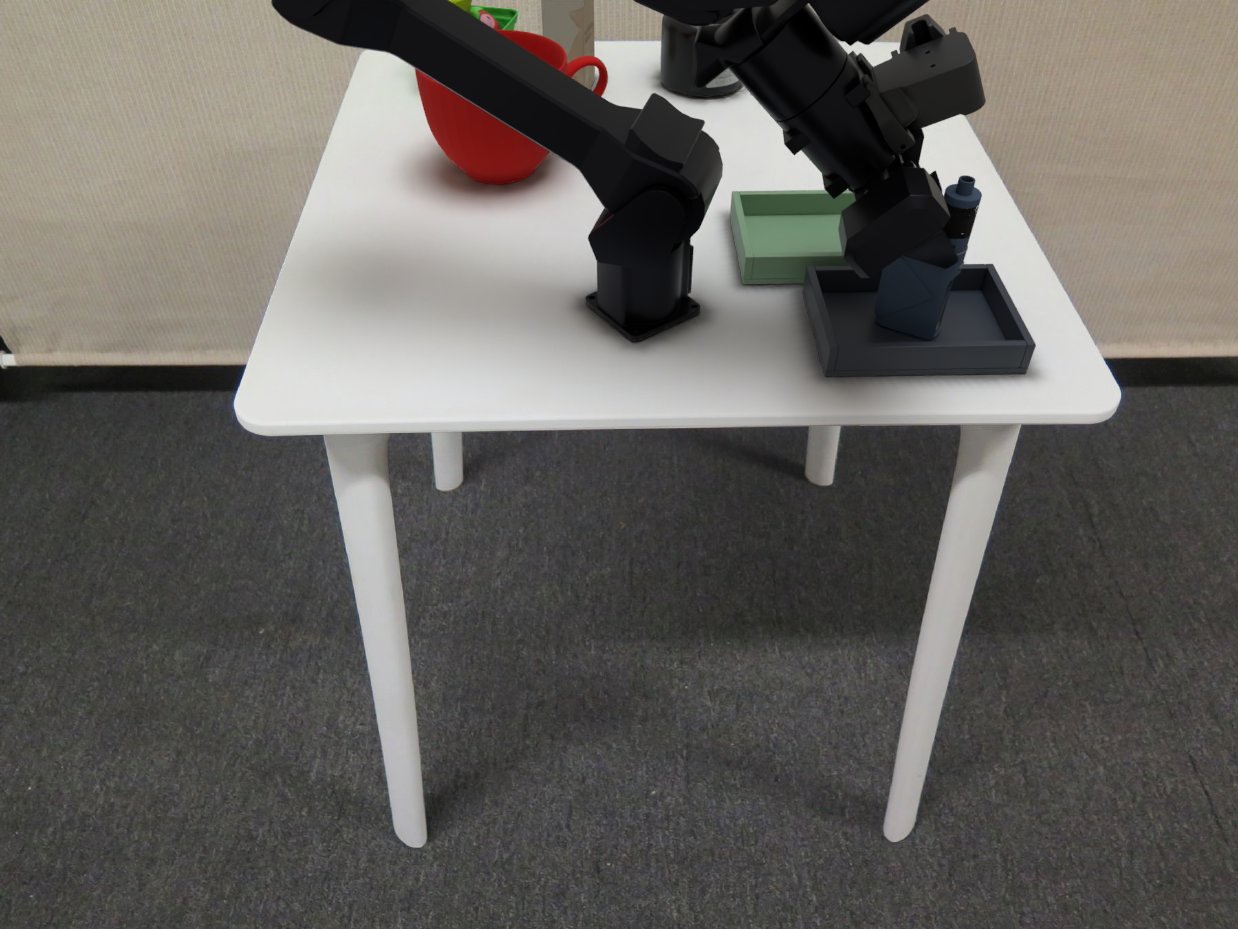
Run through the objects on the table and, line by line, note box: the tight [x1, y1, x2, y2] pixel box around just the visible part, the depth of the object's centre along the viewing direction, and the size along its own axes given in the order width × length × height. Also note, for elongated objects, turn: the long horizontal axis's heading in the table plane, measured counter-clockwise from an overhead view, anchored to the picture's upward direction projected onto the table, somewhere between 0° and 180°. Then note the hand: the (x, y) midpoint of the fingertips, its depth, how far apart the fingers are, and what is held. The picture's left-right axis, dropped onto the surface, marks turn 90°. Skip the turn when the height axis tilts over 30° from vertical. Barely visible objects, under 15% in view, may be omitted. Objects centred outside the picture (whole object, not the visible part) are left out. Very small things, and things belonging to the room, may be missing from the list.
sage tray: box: [729, 189, 855, 285], centre depth 82 cm, size 14×10×2 cm
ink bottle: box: [659, 8, 743, 97], centre depth 102 cm, size 10×9×12 cm
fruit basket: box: [449, 0, 519, 30], centre depth 104 cm, size 11×9×11 cm
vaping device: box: [874, 174, 983, 340], centre depth 70 cm, size 3×5×12 cm, turn 60°
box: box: [540, 0, 596, 90], centre depth 102 cm, size 5×4×11 cm
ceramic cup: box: [414, 29, 609, 185], centre depth 90 cm, size 13×17×10 cm
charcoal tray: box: [802, 263, 1037, 377], centre depth 74 cm, size 14×10×2 cm
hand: (947, 248), depth 70 cm, fingers closed on vaping device, 3 cm apart
